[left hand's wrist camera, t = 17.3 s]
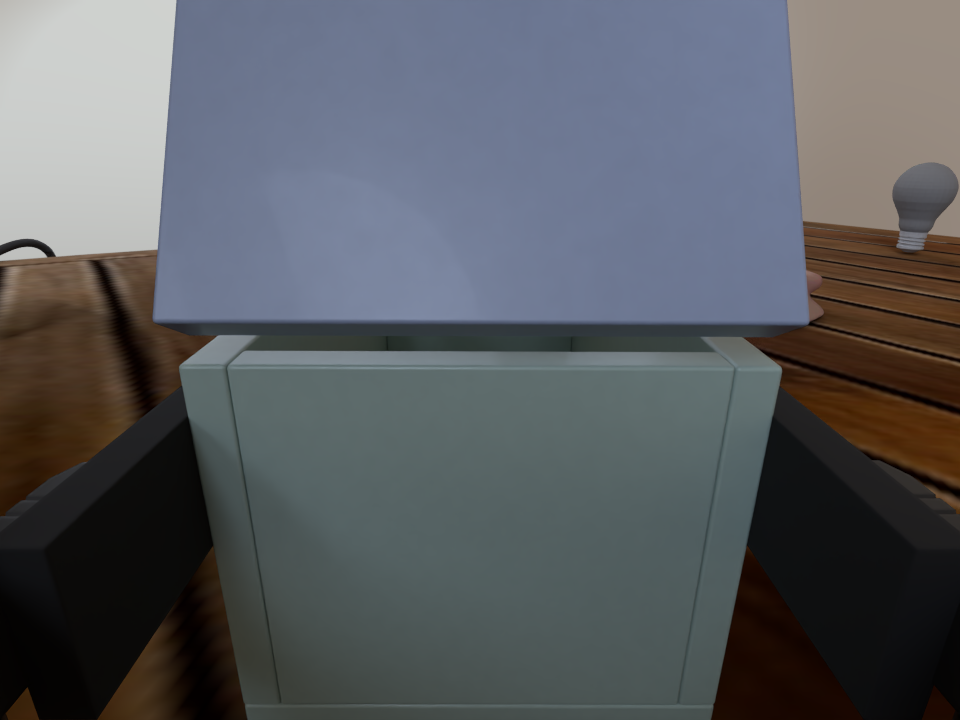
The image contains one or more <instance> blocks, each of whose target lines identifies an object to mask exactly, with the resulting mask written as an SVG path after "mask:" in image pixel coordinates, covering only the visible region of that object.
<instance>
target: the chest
mask: <svg viewBox="0 0 960 720" xmlns="http://www.w3.org/2000/svg"><path fill="white" fill-rule="evenodd" d="M179 372H180V377H181V382H182V387H183V392H184V397H185V402H186V408H187V413H188V418H189V423H190V428H191V433H192V439H193V444H194V449H195V454H196V459H197V464H198V469H199V475H200V480H201V485H202V490H203V495H204V500H205V505H206V511H207V516H208V521H209V526H210V531H211V536H212V541H213V547H214V552H215V557H216V562H217V567H218V572H219V577H220V583H221V588H222V593H223V598H224V603H225V608H226V613H227V619H228V624H229V629H230V634H231V639H232V644H233V649H234V655H235V660H236V665H237V670H238V675H239V680H240V685H241V691H242V696H243V701H244V703H245V709H246V714H247V719H248V720H711V717H712V712H713V704H714V703H715V698H716V693H717V688H718V684H719V679H720V674H721V669H722V664H723V659H724V654H725V649H726V644H727V639H728V634H729V630H730V625H731V620H732V615H733V610H734V605H735V600H736V595H737V590H738V585H739V580H740V576H741V571H742V566H743V561H744V556H745V551H746V546H747V541H748V536H749V531H750V527H751V522H752V517H753V512H754V507H755V502H756V497H757V492H758V487H759V482H760V477H761V472H762V467H763V462H764V457H765V452H766V447H767V442H768V437H769V432H770V427H771V422H772V417H773V414H774V409H775V404H776V399H777V394H778V389H779V384H780V379H781V374H782V368H781V367H780V366H779V365H778V364H776V363H775V362H774V361H773V360H771V359H770V358H769V357H767V356H766V355H765V354H763V353H762V352H761V351H760V350H758V349H757V348H756V347H754V346H753V345H752V344H750V343H749V342H748V341H746V340H745V339H744V338H743V337H592V336H276V335H219V336H217V337H216V338H215V339H213V340H212V341H211V342H210V343H208V344H207V345H206V346H204V347H203V348H202V349H200V350H199V351H198V352H197V353H195V354H194V355H193V356H191V357H190V358H189V359H187V360H186V361H185V362H184V363H182V364H181V365H180V367H179Z"/></svg>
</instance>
